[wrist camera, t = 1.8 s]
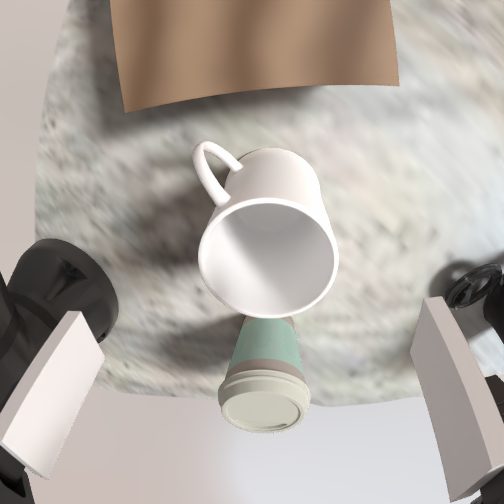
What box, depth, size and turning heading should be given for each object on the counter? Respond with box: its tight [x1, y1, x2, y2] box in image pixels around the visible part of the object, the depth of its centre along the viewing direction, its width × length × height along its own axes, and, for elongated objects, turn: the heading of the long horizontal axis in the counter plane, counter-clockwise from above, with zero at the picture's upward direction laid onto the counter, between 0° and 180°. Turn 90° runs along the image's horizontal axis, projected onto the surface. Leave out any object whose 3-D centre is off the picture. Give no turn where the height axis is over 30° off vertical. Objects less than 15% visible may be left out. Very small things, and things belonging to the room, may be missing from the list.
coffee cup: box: [218, 315, 311, 433], centre depth 31 cm, size 8×8×12 cm
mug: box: [192, 141, 338, 318], centre depth 23 cm, size 12×8×12 cm
